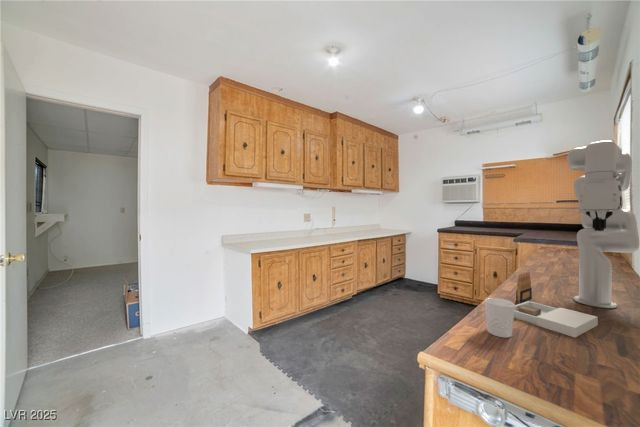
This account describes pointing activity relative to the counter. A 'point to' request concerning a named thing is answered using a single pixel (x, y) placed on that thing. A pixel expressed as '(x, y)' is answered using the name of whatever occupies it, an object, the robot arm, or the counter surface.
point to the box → (529, 317)
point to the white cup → (499, 316)
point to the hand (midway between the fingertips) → (599, 230)
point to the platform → (567, 321)
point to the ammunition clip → (523, 288)
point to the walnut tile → (530, 310)
